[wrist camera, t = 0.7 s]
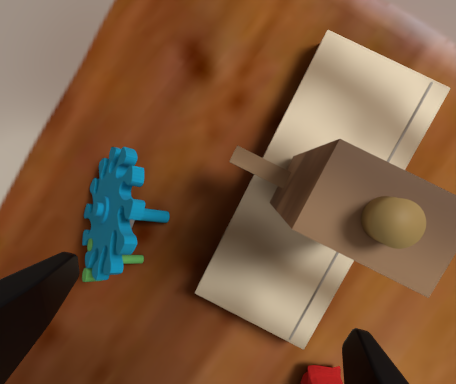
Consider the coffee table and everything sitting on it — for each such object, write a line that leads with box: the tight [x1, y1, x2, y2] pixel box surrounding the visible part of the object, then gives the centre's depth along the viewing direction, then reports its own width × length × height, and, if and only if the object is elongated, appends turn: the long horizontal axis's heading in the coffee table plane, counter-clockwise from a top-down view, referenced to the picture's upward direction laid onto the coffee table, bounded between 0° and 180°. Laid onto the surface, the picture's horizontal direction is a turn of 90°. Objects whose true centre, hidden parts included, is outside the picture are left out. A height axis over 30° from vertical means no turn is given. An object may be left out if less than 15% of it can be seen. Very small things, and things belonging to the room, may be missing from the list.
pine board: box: [195, 30, 450, 350], centre depth 22 cm, size 23×10×2 cm, turn 154°
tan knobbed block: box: [229, 139, 456, 298], centre depth 15 cm, size 4×11×11 cm, turn 64°
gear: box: [82, 147, 170, 282], centre depth 21 cm, size 11×6×10 cm
